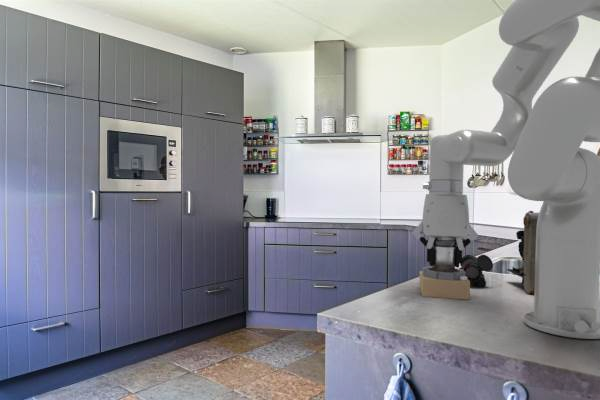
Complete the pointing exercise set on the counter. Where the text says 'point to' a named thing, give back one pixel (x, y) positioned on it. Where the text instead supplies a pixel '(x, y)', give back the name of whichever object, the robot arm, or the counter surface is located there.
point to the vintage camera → (527, 252)
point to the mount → (444, 284)
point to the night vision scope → (476, 268)
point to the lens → (444, 254)
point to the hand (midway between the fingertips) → (443, 265)
